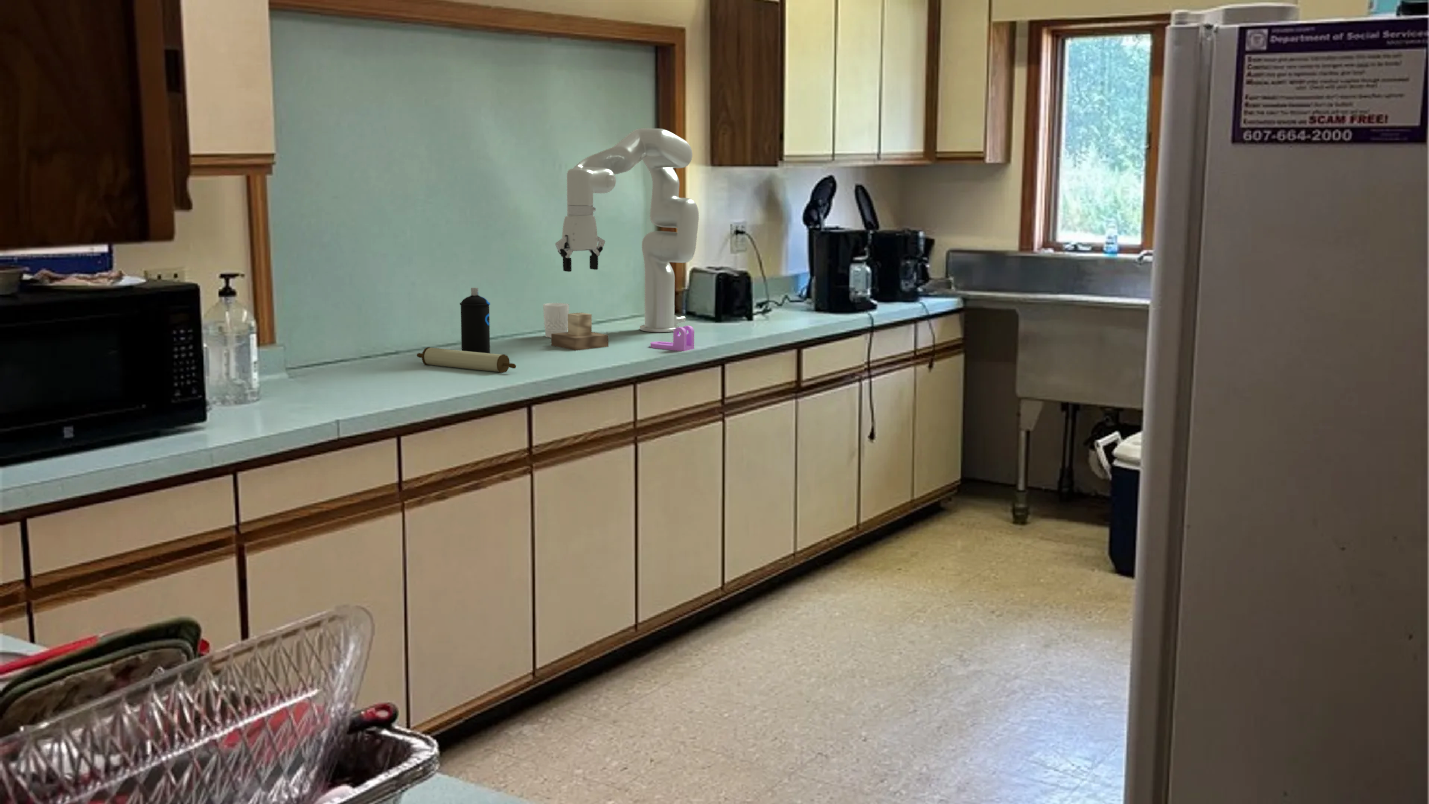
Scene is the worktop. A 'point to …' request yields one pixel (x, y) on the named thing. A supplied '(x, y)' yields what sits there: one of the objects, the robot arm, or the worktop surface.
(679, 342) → the bracket
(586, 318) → the maple block
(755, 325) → the worktop surface
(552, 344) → the base block
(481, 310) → the aerosol can
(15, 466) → the worktop surface
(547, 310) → the white cup
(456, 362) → the rolling pin
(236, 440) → the worktop surface
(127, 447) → the worktop surface
